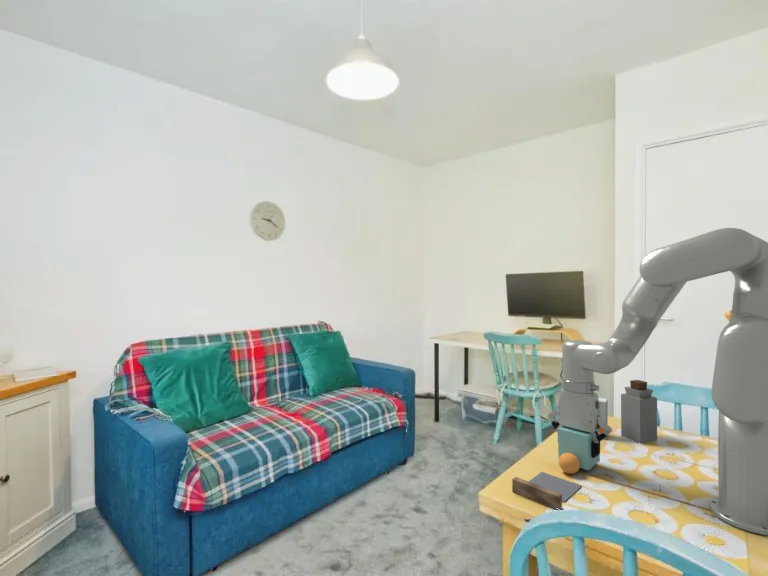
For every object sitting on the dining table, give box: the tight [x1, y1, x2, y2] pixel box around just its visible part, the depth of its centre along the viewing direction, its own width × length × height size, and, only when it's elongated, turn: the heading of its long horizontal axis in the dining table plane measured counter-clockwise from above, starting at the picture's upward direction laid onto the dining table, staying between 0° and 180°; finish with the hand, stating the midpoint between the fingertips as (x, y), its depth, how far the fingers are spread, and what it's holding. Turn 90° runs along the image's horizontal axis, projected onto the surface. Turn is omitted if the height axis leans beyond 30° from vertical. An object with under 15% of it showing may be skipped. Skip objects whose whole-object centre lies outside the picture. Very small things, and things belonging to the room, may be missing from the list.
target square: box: [527, 471, 582, 503], centre depth 97 cm, size 10×10×1 cm
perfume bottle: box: [620, 379, 658, 445], centre depth 125 cm, size 7×7×18 cm
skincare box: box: [598, 397, 609, 441], centre depth 128 cm, size 6×4×12 cm
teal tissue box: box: [557, 427, 601, 471], centre depth 108 cm, size 8×8×9 cm
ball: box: [558, 453, 581, 475], centre depth 104 cm, size 5×5×5 cm
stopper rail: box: [511, 476, 563, 510], centre depth 91 cm, size 11×2×3 cm, turn 43°
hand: (578, 450), depth 108 cm, fingers closed on teal tissue box, 7 cm apart
